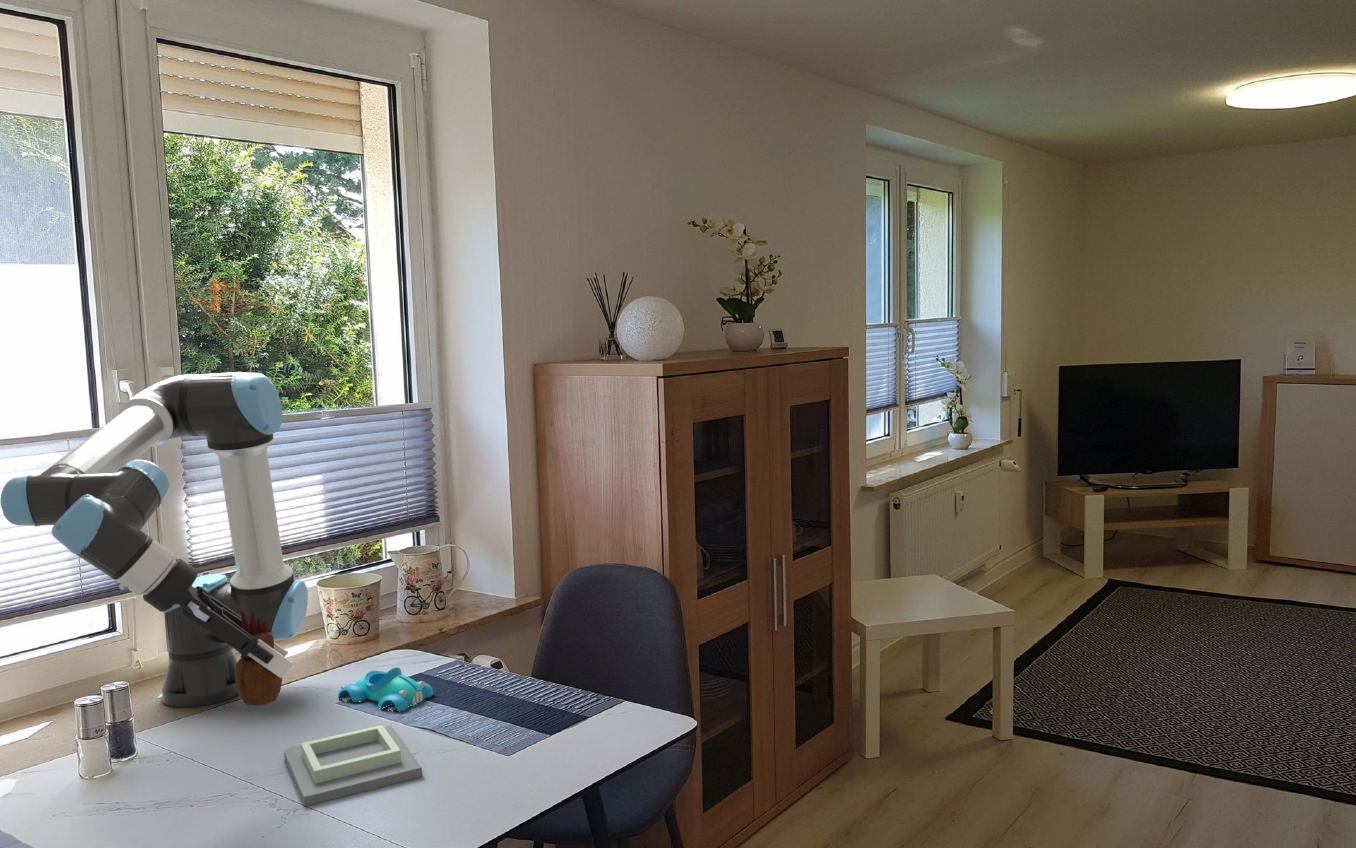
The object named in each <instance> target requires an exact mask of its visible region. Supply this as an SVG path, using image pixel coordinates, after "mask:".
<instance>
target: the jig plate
mask: <svg viewBox="0 0 1356 848" xmlns="http://www.w3.org/2000/svg"><path fill="white" fill-rule="evenodd" d="M283 758H285V759H284V761H285V762H286V763H285V764H286V766H287V765H288V766H287V767H288V771H289V770H290V771H289V772H291V773H290V775H291V777H293V778H292V780H293V782H294V784H296V785H295V787H296V789H298V790H297V792H298V794H299V797H300V799H301V800H302V801H301V802H302V803H303V806H304V807H307V806H312V805H316V804H320V803H323V802H327V801H332V800H335V799H339V798H343V797H346V796H347V797H348V796H351V795H354V794H358V793H362V792H366V791H371V790H375V789H378V788H383V787H386V786H391V785H394V784H398V783H401V782H405V781H410V780H414V779H417V778H421V777H423V766H421V763H419V761H418V760H417V759H416V757H415V756H414V754H413V753H412V752H411V751H410V749H409V748H408V746H407V745H406V744H405V742H404V741H403V740H402V738H401V737H400V735H399V734H398V733H397V731H396V730H395V729H394V727H393V726H392V725H387V726H384V725H383V724H381V725H380V724H379V725H375V726H372V727H367V728H362V729H358V730H353V731H348V732H345V733H340V734H337V735H336V734H335V735H331V736H327V737H323V738H319V739H313V740H310V741H309V740H308V741H304V742H301V743H300V746H296V747H291V748H288V749H283Z"/></svg>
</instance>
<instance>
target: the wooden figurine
mask: <svg viewBox="0 0 1356 848" xmlns="http://www.w3.org/2000/svg"><path fill="white" fill-rule="evenodd" d="M241 619H242V629H244V630H245V631H246V632H248V633H249V634H250V635H252V636H253V637H254V638H257V639H260V640H261V641H263V642H264V643H266V644H267V645H268V646H270V647H271V648H273V649H274V642H275V641H274V638H273V635H272V634H271V633H270V632H269V629H268V626H267V622H266V621H265V620H264V621H263V623H262V622H261V617H258V620H257V624H256V620H255V616H254V612H253V611H252V612H251V619H250V627H249V624H248V621H247V619H246V616H245V614H244V611H241ZM235 681H236V686H237V690H238V693H239V694H238V696H239V698H240V699H241V701H242V703H243V704H244V705H247V706H251V707H252V706H255V707H256V706H257V707H259V706H265V705H268V704H271V703H273V702H275V701H276V699H278V697H279V695H280V694H281V689H282V684H283V677H282V678H280V677H278V676H277V675H276V674H274V673H273V672H271V671H270V670H268V669H267V668H265V667H264V666H262V665H261V664H260V663H258V662H257V661H255V660H254V659H252V658H251V657H249V656H248V655H247V656H246V657H245V658H244V659H243V658H241V657H240V658H238V662H237V663H236V667H235Z"/></svg>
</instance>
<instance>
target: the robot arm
mask: <svg viewBox="0 0 1356 848" xmlns="http://www.w3.org/2000/svg"><path fill="white" fill-rule="evenodd" d="M282 409H283V407H282V403H281V399H280V396H279V393H278V391H277V388H276V386H275V385H274V383H273V382H272V381H271V380H270V379H269V378H268V377H267V376H266V375H264V374H263V373H259V372H243V371H237V372H220V373H219V372H217V373H204V374H202V373H201V374H182V375H175V376H173V377H170V378H167V379H165V380H162V381H160V382H157V383H155V384H153V385H151V386H149V387H147V388H146V389H144V390H142V391H140V392H138V393H136V394H135V395H133V396H132V397H131V398H130V399H128V400H127V401H126V402H124V403H123V404H122V405H121V406H120V409H119V411H118V414H117V416H115V417H114V418H113V419H112V420H110V421H109V422H107V423H106V424H105V425H104V426H102V427H101V428H100V429H98V430H97V431H96V432H94V433H93V434H92V435H90V436H88V438H86V439H85V440H84V441H83V442H81V443H80V444H78V445H77V446H76V447H74V448H73V449H72V450H70V451H69V452H68V453H67V454H65V455H64V456H63V457H62V458H60V459H59V460H57V461H56V462H55V463H53V464H52V465H51V466H50V467H48V468H47V469H45V470H44V471H43V472H41V473H40V474H39V475H29V474H28V475H25V476H18V477H13V478H11V479H9V480H8V481H7V482H6V483H5V485H4V486H3V488H2V490H1V493H0V508H1V510H2V515H3V516H4V517H5V519H6V520H7V522H9V523H10V524H12V525H15V526H31V527H32V526H33V527H40V526H41V527H42V526H52V528H51V535H52V537H53V538H54V539H55V540H56V541H58V542H59V543H60V544H62V545H63V546H64V547H65V548H66V549H68V550H69V552H70V553H72V554H74V555H76V556H78V557H79V558H81V559H82V560H84V561H85V562H87V563H88V564H89V565H92V566H93V567H94V568H96V569H97V570H99V571H101V572H102V573H103V574H105V575H107V576H109V577H110V578H111V579H112V580H115V581H116V582H118V583H119V584H118V587H117V588H119V590H122V591H123V590H125V589H127V588H128V590H129V591H130V592H132V593H133V594H134V595H136V596H139V595H140V596H141V595H142V599H143V601H144V602H146V603H147V604H149V605H150V606H152V607H153V608H154V609H156V610H158V611H159V612H160V613H161V612H162V613H163V614H164V615H163V616H164V623H165V633H166V643H167V644H166V645H167V652H168V654H167V655H168V665H167V667H166V672H165V677H164V679H163V685H162V688H161V695H162V696H161V697H162V703H164V704H165V705H167V706H170V707H175V708H191V707H192V708H193V707H199V706H207V705H212V704H216V703H219V702H220V703H221V702H223V701H226V700H229V699H231V698H234V697H235V696H238V695H239V693H238V690H237V686H236V681H235V667H236V663H237V662H238V661H239V659H238V657H237V656H236V653H235V651H237V652H238V653H239V654H240V656H239V657H240V659H241V658H243V659H244V658H245V657H246V656H247V655H248V656H249V657H251V658H252V659H254V660H255V661H257V662H258V663H260V664H261V665H262V666H264V667H265V668H267V669H268V670H270V671H271V672H273V673H274V674H276V675H277V676H278V677H280V678H282V679H283V676H284V675H286V673H287V672H288V671H289V670H290V669H291V668H292V667H293V666H294V662H293V661H292V660H290V659H288V658H287V657H286V656H287V655H288V654H289V651H288V650H286V649H285V648H283V647H282V646H280V645H279V644H277V642H276V641H286V640H288V641H289V640H291V639H293V638H295V637H296V636H297V635H298V634H299V632H300V631H301V629H302V627H303V625H304V623H305V618H306V614H307V612H308V611H307V610H308V605H309V604H308V603H309V600H308V599H309V594H308V593H309V591H308V587H307V585H306V582H305V581H304V580H300V579H296V580H295V578H294V577H295V576H294V570H293V568H292V567H291V566H290V565H288V564H287V563H285V562H284V559H283V558H284V557H283V551H282V544H281V536H280V531H279V525H278V523H279V522H278V518H277V517H278V516H277V511H276V504H275V497H274V492H273V491H274V490H273V483H272V475H271V469H270V464H269V456H268V448H269V446H270V445H271V444H272V442H273V441H274V439H275V438H274V434H276V433H277V432H278V431H279V430H280V428H281V426H282V421H283V419H282V415H283V410H282ZM182 437H183V438H184V437H206V444H207V450H209V451H211V452H212V453H214V454H216V455H217V456H218V463H219V468H220V469H219V470H220V474H221V475H220V476H221V480H222V486H223V493H224V494H223V495H224V499H225V505H226V506H225V507H226V513H227V518H228V524H229V525H228V526H229V531H230V538H231V543H232V550H233V557H234V562H235V569H236V572H235V573H234V574H233V575H232V576H231V577H230V580H229V579H228V577H227V575H225V574H222V573H218V574H217V573H215V574H208V575H204V576H199V577H198V575H199V574H198V571H197V569H196V568H194V567H193V566H191V565H190V564H188V563H187V562H186V561H184V559H182V558H176V559H175V553H174V552H172V551H171V550H170V549H169V548H167V547H166V546H164V545H163V544H162V543H160V542H158V541H157V540H155V539H154V538H152V537H151V536H149V535H148V534H147V533H145V531H143V530H142V529H143V528H144V526H145V524H146V523H147V522H148V521H149V519H150V518H152V517H151V516H153V514H154V513H155V512H156V510H157V509H158V508H160V506H161V504H162V502H163V499H164V498H165V496H166V495H167V493H168V491H169V488H170V487H169V486H170V482H169V481H170V480H169V478H168V476H167V473H166V472H165V471H164V469H162V468H161V466H159V465H158V464H156V463H154V462H151V461H149V460H146V459H138V458H140V457H141V456H142V455H143V454H144V453H145V452H146V451H148V450H149V449H150V448H152V447H153V448H154V447H157V446H160V445H161V446H162V445H163V444H165V443H166V442H167V441H169V440H170V439H174V438H182ZM241 611H244V614H245V616H246V619H247V621H248V624H249V627H250V619H251V612H252V611H253V612H254V616H255V620H256V624H257V620H258V617H261V622H262V623H263V621H264V620H265V621H266V622H267V626H268V629H269V632H270V633H271V634H272V635H273V638H274V649H273V648H271V647H270V646H268V645H267V644H266V643H264V642H263V641H261V640H260V639H257V638H254V637H253V636H252V635H250V634H249V633H248V632H246V631H245V630H244V629H242V619H241ZM234 650H235V651H234Z"/></svg>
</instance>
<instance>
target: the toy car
mask: <svg viewBox="0 0 1356 848" xmlns="http://www.w3.org/2000/svg"><path fill="white" fill-rule="evenodd" d="M340 687H341V688H340V689H339V691H338V693H337V694H338V695H337V696H338V697H337V699H338V698H339V699H340V698H342V699H340V700H341V701H342V700H343V701H344V700H345V701H348V700H350V701H352V702H353V703H354V702H359V701H363V700H365V701H366V700H368V699H369V701H372V700H374V701H373V702H375V701H377V702H376V703H377V708H378V707H379V708H380V709H382V708H383V707H386V706H388V705H391V704H392V705H391V706H389V707H387V710H390V709H391V710H394V709H397V710H396V711H397V712H398V711H403V710H406V709H407V708H408V709H409V707H408V706H410V705H412V706H413V705H415V703H419V702H421V701H423V700H424V701H425V700H426V699H425V698H427V699H429V698H432V696H433V695H434V690H433V687H432V685H430V684H429V683H427V682H425V681H424V680H421V681H415V679H413V678H411V677H409V676H407V675H404V674H402V669H401V668H400V667H393V668H391V669H390V670H388V671H382V670H371V671H368V672H367V673H366V674H365V676H363V677H362V678H359V679H358V680H356V681H355V682H354V683H350V684H346V685H341V686H340ZM347 695H350V696H347ZM345 696H346V697H345ZM343 697H344V698H343ZM339 699H338V700H339ZM351 699H352V700H351ZM345 701H344V702H345ZM348 702H349V701H348ZM363 702H364V701H363ZM359 703H360V702H359ZM421 703H422V702H421ZM419 704H420V703H419ZM412 706H410V707H412ZM415 706H416V705H415ZM408 709H407V710H408ZM407 710H406V711H407ZM403 712H404V711H403Z"/></svg>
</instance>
